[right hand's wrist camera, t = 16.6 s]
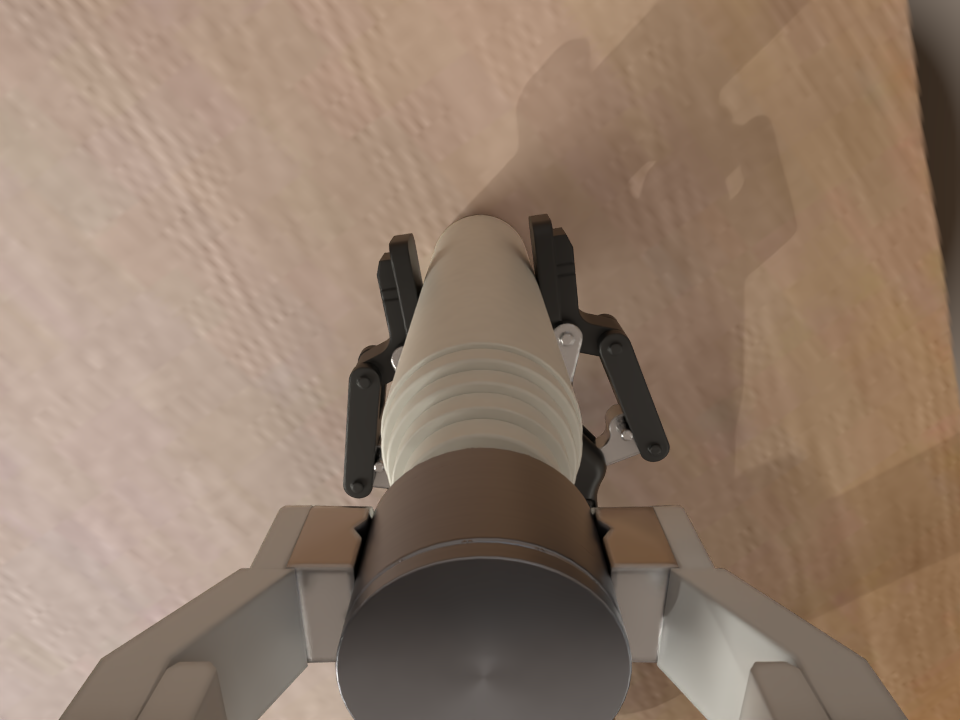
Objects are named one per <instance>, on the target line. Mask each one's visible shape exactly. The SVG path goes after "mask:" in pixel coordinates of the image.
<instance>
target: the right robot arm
mask: <svg viewBox="0 0 960 720" xmlns="http://www.w3.org/2000/svg"><path fill="white" fill-rule="evenodd" d="M591 512H592V514H593V517H594V521H595V525H596V528H597V531H598V534H599V537H600V541H601V544H602V550H603V553H604V557H605V561H606V564H607V568H608V571H609V575H610V578H611V581H612V584H613V587H614V591H615V594H616V598H617V601H618V605H619V609H620V612H621V616H622V619H623V624H624V627H625V630H626V634H627V637H628V641H629V646H630V651H631V656H632V662H648V663H657V666H658V667H659V668H660V669H661V670H662V671H663V672H664V673H665V675H666V676H667V677H668V678H669V679H670V680H671V681H672V682H673V683H674V684H675V685H676V686H677V687H678V688H679V690H680V691H681V692H682V693H683V694H684V695H685V696H686V697H687V698H688V699H689V700H690V701H691V702H692V703H693V704H694V706H695V707H696V708H697V709H698V710H699V711H700V712H701V713H702V714H703V715H704V716H705V717H706V718H707V719H708V720H908V719H907V717H906V716H905V715H904V713H903V712H902V710H901V709H900V707H899V706H898V705H897V703H896V702H895V700H894V699H893V697H892V696H891V695H890V693H889V692H888V690H887V689H886V687H885V686H884V685H883V683H882V682H881V680H880V679H879V677H878V676H877V675H876V673H875V672H874V670H873V669H872V667H871V666H870V665H869V663H868V662H867V660H866V659H864V658H863V657H861V656H859V655H858V654H856V653H855V652H853V651H852V650H850V649H849V648H847V647H845V646H844V645H842V644H841V643H839V642H838V641H836V640H835V639H833V638H832V637H830V636H828V635H827V634H825V633H824V632H822V631H821V630H819V629H818V628H816V627H814V626H813V625H811V624H810V623H808V622H807V621H805V620H804V619H802V618H800V617H799V616H797V615H796V614H794V613H793V612H791V611H790V610H788V609H786V608H785V607H783V606H782V605H780V604H779V603H777V602H776V601H774V600H772V599H771V598H769V597H768V596H766V595H765V594H763V593H762V592H760V591H758V590H757V589H755V588H754V587H752V586H751V585H749V584H748V583H746V582H744V581H743V580H741V579H740V578H738V577H737V576H735V575H734V574H732V573H730V572H729V571H727V570H726V569H723V568H715V567H714V565H713V563H712V561H711V559H710V557H709V555H708V553H707V551H706V550H705V548H704V546H703V544H702V542H701V540H700V538H699V536H698V534H697V532H696V530H695V529H694V527H693V525H692V523H691V521H690V519H689V517H688V515H687V513H686V511H685V509H684V508H683V507H681V506H680V505H667V506H650V507H594V508H591ZM373 514H374V510H373V508H372V507H357V506H284V507H282V508H281V509H280V510H279V511H278V513H277V515H276V517H275V519H274V521H273V523H272V525H271V527H270V529H269V531H268V533H267V535H266V537H265V539H264V541H263V543H262V545H261V547H260V549H259V551H258V553H257V555H256V557H255V559H254V561H253V563H252V565H251V567H250V568H242V569H239V570H238V571H236V572H235V573H233V574H232V575H230V576H228V577H227V578H225V579H224V580H222V581H221V582H219V583H218V584H216V585H215V586H213V587H211V588H210V589H208V590H207V591H205V592H204V593H202V594H201V595H199V596H198V597H196V598H194V599H193V600H191V601H190V602H188V603H187V604H185V605H184V606H182V607H180V608H179V609H177V610H176V611H174V612H173V613H171V614H170V615H168V616H167V617H165V618H163V619H162V620H160V621H159V622H157V623H156V624H154V625H153V626H151V627H150V628H148V629H146V630H145V631H143V632H142V633H140V634H139V635H137V636H136V637H134V638H133V639H131V640H129V641H128V642H126V643H125V644H123V645H122V646H120V647H119V648H117V649H116V650H114V651H112V652H111V653H109V654H108V655H106V656H105V657H103V658H102V659H101V660H100V661H99V663H98V664H97V666H96V667H95V668H94V670H93V671H92V673H91V674H90V676H89V677H88V678H87V680H86V681H85V683H84V684H83V686H82V687H81V689H80V690H79V691H78V693H77V694H76V696H75V697H74V699H73V700H72V701H71V703H70V704H69V706H68V707H67V709H66V710H65V712H64V713H63V714H62V716H61V717H60V719H59V720H258V719H259V718H260V717H261V716H262V715H263V713H264V712H265V711H266V710H267V709H268V708H269V707H270V706H271V705H272V704H273V703H274V702H275V701H276V699H277V698H278V697H279V696H280V695H281V694H282V693H283V692H284V691H285V690H286V689H287V688H288V687H289V685H290V684H291V683H292V682H293V681H294V680H295V679H296V678H297V677H298V676H299V675H300V674H301V673H302V671H303V670H304V669H305V668H306V667H307V666H308V665H307V663H316V662H336V655H337V648H338V644H339V641H340V637H341V633H342V630H343V625H344V622H345V618H346V614H347V610H348V606H349V603H350V599H351V595H352V591H353V588H354V584H355V580H356V577H357V573H358V569H359V565H360V562H361V558H362V554H363V550H364V546H365V542H366V539H367V535H368V531H369V527H370V524H371V520H372V516H373Z"/></svg>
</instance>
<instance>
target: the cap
mask: <svg viewBox="0 0 960 720" xmlns="http://www.w3.org/2000/svg"><path fill="white" fill-rule="evenodd" d="M631 673H632V656H631V651H630V646H629V641H628V637H627V634H626V630H625V627H624V624H623V619H622V616H621V612H620V609H619V605H618V601H617V598H616V594H615V591H614V587H613V584H612V581H611V578H610V575H609V571H608V568H607V564H606V561H605V557H604V553H603V550H602V544H601V541H600V537H599V534H598V531H597V528H596V525H595V521H594V517H593V514H592V512H591V509H590V507H589V505H588V503H587V502H586V500H585V498H584V496H583V495H582V494H581V493H580V491H579V490H578V489H577V487H576V486H575V485H574V484H573V483H572V482H571V481H570V480H569V479H568V478H566V477H565V476H564V475H563V474H561V473H560V472H559V471H557V470H556V469H554V468H553V467H552V466H550V465H548V464H546V463H544V462H542V461H541V460H539V459H536V458H534V457H531V456H530V455H526V454H524V453H519V452H515V451H511V450H505V449H498V448H466V449H460V450H456V451H451V452H447V453H444V454H441V455H438V456H435V457H432V458H430V459H428V460H426V461H424V462H422V463H419V464H417V465H416V466H414V467H413V468H412V469H410V470H409V471H407V472H406V473H405V474H403V475H402V476H401V477H400V478H399V479H397V480H396V481H395V482H394V483H393V484H392V485H391V487H390V488H389V489H388V490H387V491H386V492H385V494H384V495H383V497H382V498H381V500H380V501H379V503H378V505H377V507H376V509H375V511H374V514H373V516H372V520H371V524H370V527H369V531H368V535H367V539H366V542H365V546H364V550H363V554H362V558H361V562H360V565H359V569H358V573H357V577H356V580H355V584H354V588H353V591H352V595H351V599H350V603H349V606H348V610H347V614H346V618H345V622H344V625H343V630H342V633H341V637H340V641H339V644H338V648H337V655H336V677H337V682H338V686H339V690H340V694H341V697H342V699H343V701H344V703H345V706H346V708H347V709H348V711H349V713H350V714H351V716H352V717H353V719H354V720H613V719H614V717H615V716H616V715H617V713H618V712H619V710H620V708H621V706H622V704H623V702H624V700H625V697H626V695H627V692H628V689H629V685H630V679H631Z"/></svg>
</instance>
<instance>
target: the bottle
mask: <svg viewBox="0 0 960 720" xmlns="http://www.w3.org/2000/svg"><path fill="white" fill-rule="evenodd" d="M582 432H583V427H582V417H581V413H580V409H579V405H578V402H577V399H576V396H575V393H574V390H573V387H572V384H571V381H570V378H569V375H568V372H567V369H566V366H565V363H564V360H563V357H562V354H561V352H560V349H559V346H558V343H557V340H556V337H555V334H554V331H553V328H552V325H551V322H550V319H549V316H548V313H547V310H546V307H545V304H544V301H543V298H542V295H541V292H540V289H539V286H538V283H537V280H536V277H535V274H534V271H533V268H532V265H531V262H530V259H529V256H528V253H527V250H526V247H525V245H524V242H523V240H522V239H521V237H520V235H519V234H518V233H517V231H516V230H515V229H514V228H513V227H512V226H510V225H509V224H508V223H506V222H504V221H503V220H501V219H498V218H496V217H492V216H487V215H473V216H468V217H465V218H462V219H460V220H458V221H456V222H454V223H453V224H452V225H450V226H449V227H448V228H447V229H446V230H445V231H444V232H443V233H442V235H441V236H440V238H439V240H438V241H437V244H436V246H435V249H434V252H433V255H432V259H431V262H430V265H429V268H428V271H427V274H426V277H425V281H424V284H423V287H422V290H421V293H420V296H419V300H418V303H417V306H416V309H415V312H414V315H413V319H412V322H411V325H410V328H409V331H408V334H407V337H406V341H405V344H404V347H403V350H402V353H401V356H400V360H399V363H398V366H397V369H396V372H395V375H394V379H393V382H392V385H391V388H390V391H389V394H388V397H387V401H386V404H385V407H384V411H383V416H382V421H381V440H382V441H381V451H382V459H383V464H384V468H385V471H386V473H387V476H388V480H389V484H390V487H391V485H392V484H393V483H394V482H395V481H396V480H397V479H399V478H400V477H401V476H402V475H403V474H405V473H406V472H407V471H409V470H410V469H412V468H413V467H414V466H416V465H417V464H419V463H422V462H424V461H426V460H428V459H430V458H432V457H435V456H438V455H441V454H444V453H447V452H451V451H456V450H460V449H466V448H498V449H505V450H511V451H515V452H519V453H524V454H526V455H530V456H531V457H534V458H536V459H539V460H541V461H542V462H544V463H546V464H548V465H550V466H552V467H553V468H554V469H556V470H557V471H559V472H560V473H561V474H563V475H564V476H565V477H566V478H568V479H569V480H570V481H571V482H572V483H573V484H575V480H576V475H577V472H578V470H579V467H580V462H581V457H582V445H583V443H582Z"/></svg>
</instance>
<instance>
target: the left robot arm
mask: <svg viewBox="0 0 960 720" xmlns="http://www.w3.org/2000/svg"><path fill="white" fill-rule="evenodd" d="M529 227H530V236H531V245H532V253H533V262H534V271H535V277H536V280H537V283H538V286H539V289H540V292H541V295H542V298H543V301H544V304H545V307H546V310H547V313H548V316H549V319H550V322H551V325H552V328H553V331H554V334H555V337H556V340H557V343H558V346H559V349H560V352H561V354H562V357H563V360H564V363H565V366H566V369H567V372H568V375H569V378H570V381H571V384H572V383H573V377H574V373H575V369H576V365H577V361H578V357H579V353H585V354H590V355H595V356H599V357H600V359H601V362H602V364H603V367H604V369H605V372H606V374H607V377H608V379H609V382H610V384H611V387H612V389H613V392H614V394H615V397H616V399H617V402H618V404H617V405H613V406H612V407H611V408H610V409H609V410H608V411H607V412H606V415H605V422H606V429H605V431H604V433H603V434H602V435H601V436H599V437H597V438H595V437H594V436H593V435H592V434H591V433H590V432H589V431H588V430H587V429H586V428H585V427H584V426H583V425H582V427H583V432H582V443H583V445H582V457H581V462H580V467H579V470H578V472H577V475H576V480H575V484H574V485H575V486H576V487H577V489H578V490H579V491H580V493H581V494H582V495H583V496H584V498H585V500H586V502H587V503H588V505H589V507H590V509H591V508H594V507H598V505H597V492H598V488H599V486H600V483H601V482H602V480H603V478H604V476H605V473H606V466H608V465H610V464H613V463H616V462H618V461H621V460H624V459H626V458H629V457H632V456H634V455H637V454H641V456H642V457H643V458H644V459H645V460H647V461H650V462H656V461H660V460H662V459H663V458H665V457H666V456H667V454H668V452H669V448H670V447H669V443H668V440H667V437H666V435H665V432H664V429H663V427H662V424H661V421H660V419H659V416H658V414H657V411H656V408H655V406H654V403H653V400H652V398H651V395H650V392H649V390H648V387H647V384H646V382H645V379H644V377H643V374H642V371H641V369H640V366H639V363H638V361H637V358H636V355H635V353H634V350H633V347H632V345H631V342H630V340H629V339H628V337H627V336H626V334H625V332H624V331H623V329H622V328H621V326H620V325H619V323H618V322H617V320H616V319H615V318H614V317H613V316H611V315H609V314H601V315H593V314H588V313H585V312H582V311H581V310H580V309H579V308H578V297H577V286H576V275H575V264H574V253H573V246H572V244H571V243H570V241H569V239H568V237H567V235H566V233H565V232H564V230H563V229H562V228H555V229H552V223H551V220H550V218H549V216H548V215H547V214H542V215H535V216H529ZM389 250H390V252H388V253H384V255H383V256H382V258H381V259H380V261H379V266H378V271H377V279H378V283H379V288H380V293H381V297H382V301H383V307H384V311H385V316H386V321H387V325H388V330H389V335H390V338H389V339H388V340H386V341H385V342H383V343H381V344H379V345H377V346H376V345H371V346H368V347H366V348H364V349H363V350H362V352H361V354H360V356H359V359H358V363H357V365H356V367H355V368H354V369H353V371H352V373H351V375H350V377H349V389H348V407H347V426H346V444H345V462H344V481H343V487H344V490H345V492H346V493H347V494H348V495H350V496H351V497H354V498H364V497H366V496H368V495H369V494H370V493H371V491H372V488H373V487H377V488H386V489H389V488H390V484H389V480H388V476H387V473H386V471H385V468H384V464H383V459H382V451H381V441H382V440H381V421H382V416H383V411H384V407H385V398H386V386H387V383H389V382H391V381H393V379H394V375H395V372H396V369H397V366H398V363H399V360H400V356H401V353H402V350H403V347H404V344H405V341H406V337H407V334H408V331H409V328H410V325H411V322H412V319H413V315H414V312H415V309H416V306H417V303H418V300H419V296H420V293H421V290H422V287H423V283H422V277H421V272H420V267H419V261H418V256H417V251H416V245H415V240H414V237H413V234H412V233H411V234H404V235H397V236H394V237H393V238H392V240H391V241H390V243H389ZM613 720H615V717H614V719H613Z"/></svg>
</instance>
